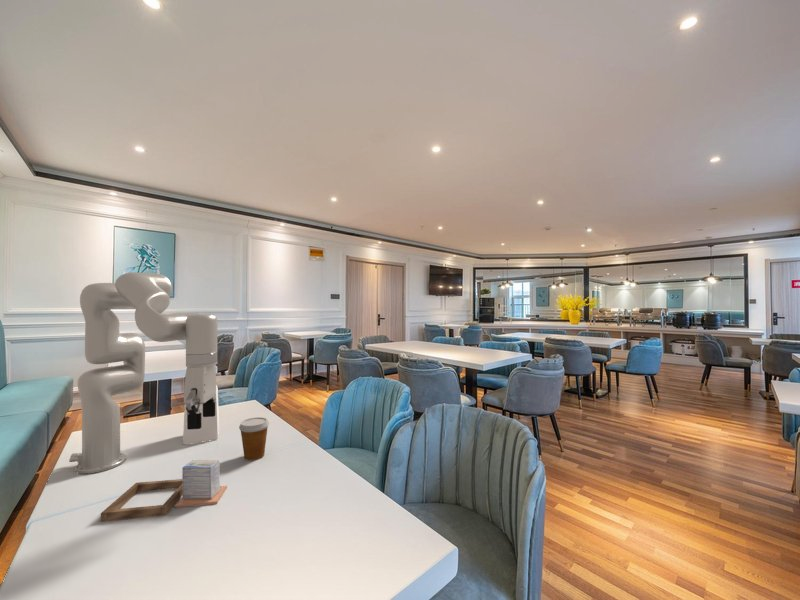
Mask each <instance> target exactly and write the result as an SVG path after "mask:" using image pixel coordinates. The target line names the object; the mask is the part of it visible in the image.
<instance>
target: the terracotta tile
mask: <svg viewBox="0 0 800 600" xmlns="http://www.w3.org/2000/svg"><path fill="white" fill-rule="evenodd" d="M227 489H228V485H220V490H219V491H218V493H217V494H216V495H215V496H214V497H213V498H212V499H183V496H182V497H181V498H180V499H179V500H178V501H177V503H176V504H175V508H184V507H195V506H207V505H215V504H216V505H217V504H218V503H219V501H220V500H221V498H222V497H223V495H224V493H225V491H227Z"/></svg>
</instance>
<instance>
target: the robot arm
mask: <svg viewBox="0 0 800 600" xmlns="http://www.w3.org/2000/svg"><path fill="white" fill-rule="evenodd" d="M172 285H173V284H172V282H171V280H170V279H169V278H168V277H167V276H166V275H164V274H161V273H152V272H151V273H149V272H135V271H133V272H126V273H123V274H121V275H120V276H118V277H117V279H116V280H115V282H96V283H91V284H88V285H86V286H85V287H84V288H83V289H82V290H81V292H80V296H79V304H80V305H79V306H80V309H81V312H82V315H83V318H84V323H85V327H84V329H85V330H84V357H85V360H86V361H87V363H89V364H91V365H106V364H115V363H120V362H123V364H120V365H111V366H105V367H99V368H95V369H89V370H87V371H84V372H83V373H82V374H81V375H80V376H79V378H78V380H77V390H78V394H79V400H80V405H81V452H74V453H73V452H72V453H71V455H70V457H69V459H68V461H69V463H73V462H74V463H75V462H77V465H76V466H75V470H76V471H75V472H76V473H77V472H78V474H81V473H88V474H95V472H96V473H100V471H101V472H105V471H107V470H110V469H114V468H116V467H118V466H121V465H122V464H123V463H125V461H126V460H127V455H126V453H125V454H124V453H121V407H120V405H119V404H118V403H117V402H116V401H115V400H114V399H113V397H112V396H116V395H120V394H124V393H130V392H133V391H136V390H138V389H140V388H141V387H142V386H143V384H144V382H145V370H146V367H145V366H146V344H145V341H144V339H143V338H142V336H141V335H139V334H137V333H134V332H126V333H120V319H119V318H118V316H117V314H116V313H115V312H113V310H134V311H135V312H134V321H135V324H136V327H137V329H138V330H139V331H140V332H141V333H142V334H144V336H146V337H147V338H149V339H150V340H151V341H153V342H158V343H165V342H167V343H169V342H173V341H185V367H186V369H185V376H184V389H183V404H184V406H185V405H186V410H187V429H200V428H201V427H202V425H201V413H200V410H201V406H202V404H203V417H214V416H215V401H216V398H215V394H216V385H217V372H216V369H217V368H216V365H218V364H219V363H218V318H217V316H216V315H215V314H211V313H201V314H200V313H197V312H196V313H195V312H186V313H185V312H183V313H182V312H176V313H174V312H173V313H171V312H170V313H164V312H165V311H166V310H167V309H168V307H169V306H170V303H171V300H170V299H171V298H170V295H171V294H172V291H173V286H172ZM205 402H206V403H205ZM195 405H198V406H197V408H196V406H195Z"/></svg>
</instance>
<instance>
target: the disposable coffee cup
mask: <svg viewBox="0 0 800 600" xmlns="http://www.w3.org/2000/svg"><path fill="white" fill-rule="evenodd" d="M269 425H270V422H269V420H268V418H266V417H258V416H257V417H251V418H246V419H244V420H242V421H241V422H240V423H239V427H238V428H239V431H240V436H241V441H242V449H243V456H244V457H243V458H244V460H245V461H256V460H259V459H262V458H263V457H264V456H265V452H266V451H265V450H266V444H267V436H268V435H267V433H268V428H269Z"/></svg>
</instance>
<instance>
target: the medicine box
mask: <svg viewBox="0 0 800 600" xmlns="http://www.w3.org/2000/svg"><path fill="white" fill-rule="evenodd" d="M181 472H182V478H181V479H183V496H182V497H183V499H212V498H213V497H214V496H215V495H216V494H217V493H218V491H219V490H220V486H221V480H220V479H221V478H220V477H221V476H220V475H221V473H220V460H219V459H191V460H190V461H189V462H187V463H186V464H185V465H183V466H182V471H181Z"/></svg>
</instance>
